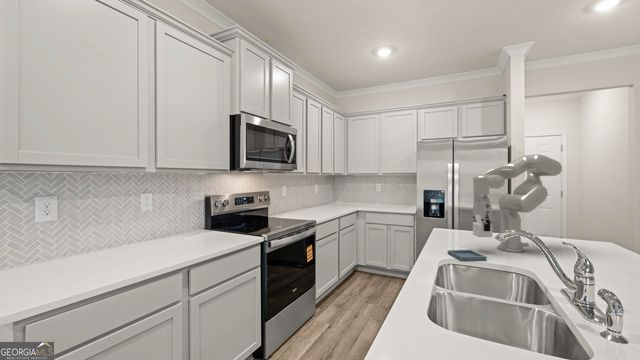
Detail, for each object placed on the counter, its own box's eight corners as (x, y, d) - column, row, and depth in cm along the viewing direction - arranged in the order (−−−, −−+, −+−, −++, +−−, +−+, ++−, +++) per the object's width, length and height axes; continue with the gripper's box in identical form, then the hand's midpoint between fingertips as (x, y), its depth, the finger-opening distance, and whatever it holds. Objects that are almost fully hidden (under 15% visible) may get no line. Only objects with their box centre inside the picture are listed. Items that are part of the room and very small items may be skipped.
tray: (470, 253, 148) (470, 249, 148) (486, 260, 135) (486, 256, 135) (447, 253, 148) (447, 250, 148) (461, 261, 135) (461, 257, 135)
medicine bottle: (486, 234, 155) (485, 213, 154) (492, 237, 148) (492, 215, 147) (472, 234, 155) (472, 213, 155) (478, 237, 148) (478, 215, 148)
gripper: (499, 199, 143) (499, 232, 143) (478, 196, 160) (478, 226, 160) (485, 199, 142) (486, 233, 143) (465, 197, 160) (466, 227, 160)
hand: (482, 229), depth 151 cm, fingers closed on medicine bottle, 7 cm apart
